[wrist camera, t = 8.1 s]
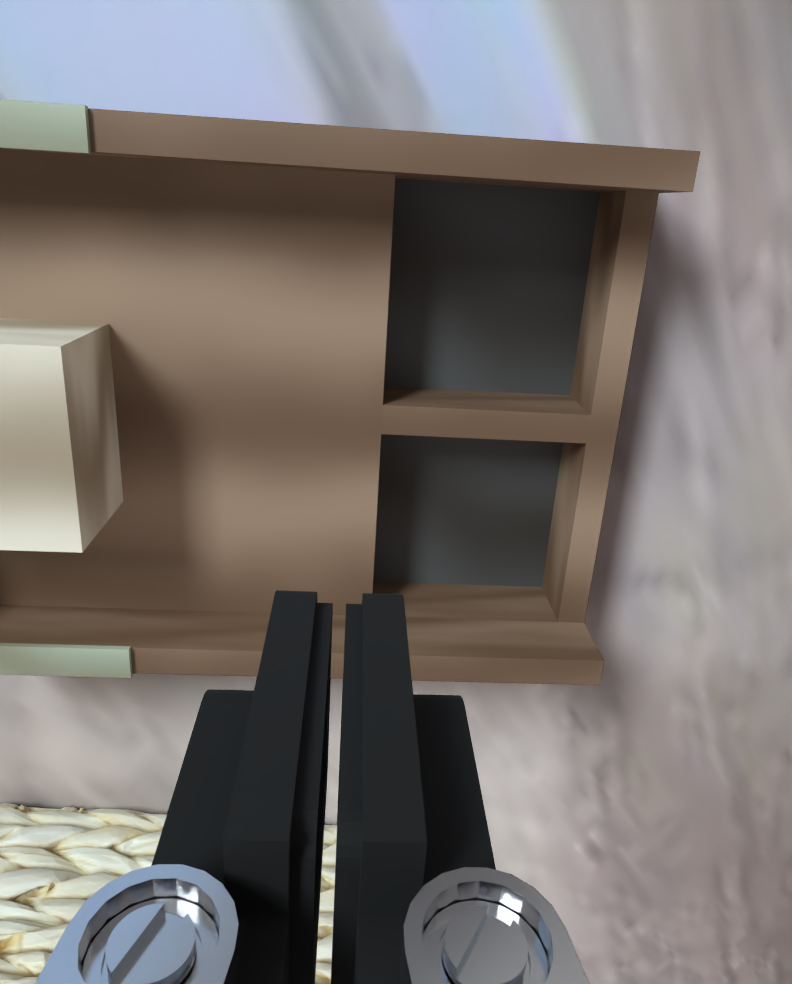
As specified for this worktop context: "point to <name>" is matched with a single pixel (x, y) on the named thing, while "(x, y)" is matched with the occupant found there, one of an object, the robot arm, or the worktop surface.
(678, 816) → the worktop surface
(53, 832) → the storage basket
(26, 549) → the birch block
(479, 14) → the worktop surface
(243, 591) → the box
